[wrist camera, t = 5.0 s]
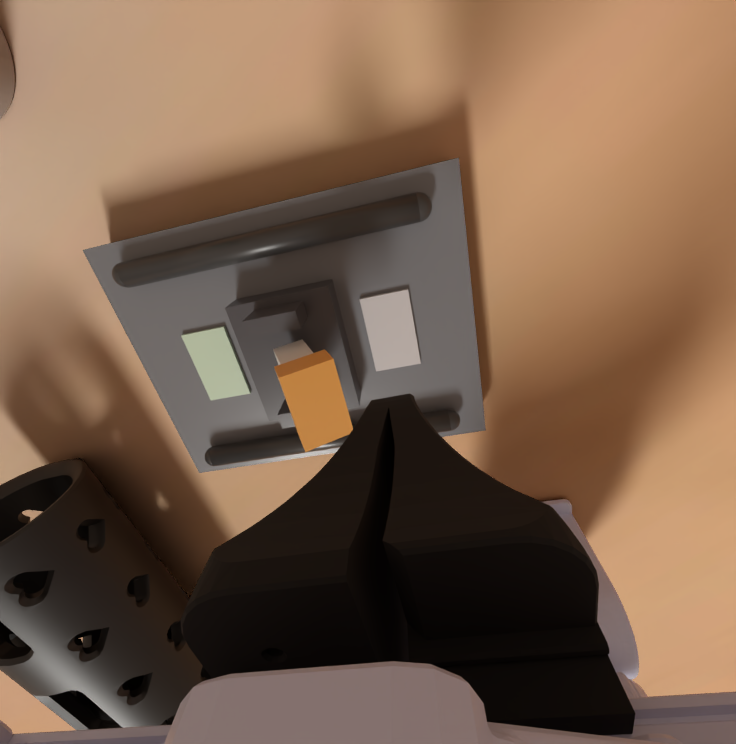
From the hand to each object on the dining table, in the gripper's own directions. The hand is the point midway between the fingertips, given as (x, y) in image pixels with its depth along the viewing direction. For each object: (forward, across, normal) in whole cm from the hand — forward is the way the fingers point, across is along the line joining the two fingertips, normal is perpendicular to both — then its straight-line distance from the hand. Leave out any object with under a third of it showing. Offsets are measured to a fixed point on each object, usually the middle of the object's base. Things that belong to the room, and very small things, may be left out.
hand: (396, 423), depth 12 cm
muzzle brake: (+11, +23, +19) cm, 32 cm away
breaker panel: (+10, +5, 0) cm, 11 cm away
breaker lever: (+6, +5, 0) cm, 8 cm away
